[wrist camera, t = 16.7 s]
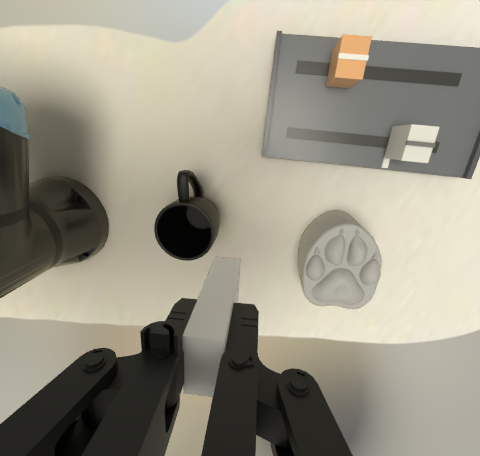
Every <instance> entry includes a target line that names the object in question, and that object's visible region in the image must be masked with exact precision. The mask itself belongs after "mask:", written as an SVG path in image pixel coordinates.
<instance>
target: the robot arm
mask: <svg viewBox="0 0 480 456" xmlns="http://www.w3.org/2000/svg"><path fill="white" fill-rule="evenodd" d="M28 140H30V136H29V135H28V132H27V122H26V110H25V106H24V104H23V102H22V101H21V99H20V98H19V97H18V96H17V95H16V94H15V93H13V92H11V91H10V90H8V89H5V88H3V87H0V298H2V297H3V296H5V295H7V294H8V293H10V292H12V291H13V290H15V289H17V288H18V287H20V286H22V285H23V284H25V283H27V282H28V281H30V280H32V279H33V278H35V277H37V276H38V275H40V274H42V273H43V272H45V271H46V270H48V269H50V268H52V267H57V266H62V265H67V264H73V263H78V262H81V261H84V260H86V259H88V258H89V257H91V256H93V255H94V254H96V253H97V252H98V251H99V250H100V249H101V248H102V247H103V245H104V244H105V242H106V239H107V235H108V220H107V216H106V213H105V210H104V208H103V206H102V204H101V203H100V201H99V200H98V198H97V197H96V196H95V195H94V194H93V193H92V192H91V191H90V190H89V189H88V188H87V187H85V186H84V185H82V184H81V183H79V182H77V181H75V180H72V179H69V178H64V177H52V178H46V179H41V180H38V181H35V182H33V183H31V184H29V154H28ZM240 260H241V259H236V258H224V257H215V258H214V261H213V263H212V266H211V268H210V270H209V273H208V275H207V278H206V280H205V283H204V285H203V287H202V290H201V292H200V295H199V297H198V300H196V299H186V298H182V299H180V300H179V301H178V302H177V303H175V304H174V306H173V308H172V310H171V313H169V315H168V317H167V319H166V321H158V322H155V323H151V324H149V325H148V326H146V327H144V328H143V330H142V331H141V345H142V352H141V353H139V354H136V355H132V356H125V357H118V358H117V357H116V354H115V352H114V351H112V350H111V349H107V348H99V349H94V350H92V351H89V352H87V353H85V354H83V355H82V356H81V357H79V358H78V359H77V360H76V361H74V362H73V363H72V364H71V365H70V366H69V367H67V368H66V369H65V370H64V371H63V372H61V373H60V374H59V375H58V376H57V377H56V378H54V379H53V380H52V381H51V382H50V383H48V384H47V385H46V386H45V387H44V388H43V389H42V390H40V391H39V392H38V393H37V394H35V395H34V396H33V397H32V398H31V399H30V400H28V401H27V402H26V403H25V404H24V405H22V406H21V407H20V408H19V409H18V410H17V411H15V412H14V413H13V414H12V415H11V416H10V417H8V418H7V419H6V420H5V421H4V422H2V423H1V424H0V456H164V455H165V452H166V449H167V445H168V442H169V439H170V436H171V433H172V429H173V426H174V423H175V420H176V416H177V413H178V410H179V404H180V393H181V390H182V387H183V390H184V393H185V394H193V395H201V396H209V397H213V400H212V405H211V410H210V415H209V420H208V425H207V430H206V435H205V440H204V445H203V450H202V455H201V456H255V450H256V435H258V436H260V437H262V438H263V439H265V440H267V441H269V442H270V443H271V448H272V452H273V456H352V454H351V452H350V449H349V448H348V445H347V444H346V441H345V439H344V437H343V435H342V433H341V431H340V429H339V427H338V425H337V423H336V421H335V419H334V416H333V415H332V412H331V410H330V408H329V406H328V404H327V402H326V400H325V398H324V396H323V394H322V392H321V390H320V388H319V386H318V384H317V382H316V381H315V379H314V378H313V377H312V376H311V375H310V374H308V373H307V372H305V371H302V370H300V369H288V370H285V371H283V372H282V374H279V373H276V372H274V371H272V370H270V369H268V368H267V367H265V366H264V365H263V364H262V363H261V361H260V360H259V357H258V353H257V344H258V343H257V342H258V310H257V308H256V307H255V305H254V304H243V303H237V302H238V291H239V275H240Z"/></svg>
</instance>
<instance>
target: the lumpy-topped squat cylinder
mask: <svg viewBox="0 0 480 456" xmlns="http://www.w3.org/2000/svg"><path fill="white" fill-rule="evenodd" d="M298 270H299V275H300V280H301V284H302V288H303V293H304V295H305V297H306V298H307V300H308V301H309V302H311V303H312V304H314V305H318V306H340V307H343V308H348V309H358V308H361V307H363V306H364V305H365V304H367V303H368V302H369V301H370V300H371V298H372V297H373V295H374V292H375V290H376V286H377V284H378V280H379V278H380V275H381V255H380V252H379V249H378V247H377V244H376V242H375V240H374V239H373V237H372V236H371V235H370V234H369V233H368V232H367V231H366V230H365V229H364V228H363V227H362V226H361V225H360V224H359V223H358V222H357V221H356V220H355V219H353V218H352V217H351V216H350V215H349V214H347V213H346V212H343V211H339V210H333V211H328V212H326V213H324V214H322V215H320V216H319V217H317V218H316V219H315V220H313V221H312V223H311V224H310V225H309V226H308V227H307V229H306V230H305V231H304V233H303V234H302V236H301V240H300V244H299V250H298Z"/></svg>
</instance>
